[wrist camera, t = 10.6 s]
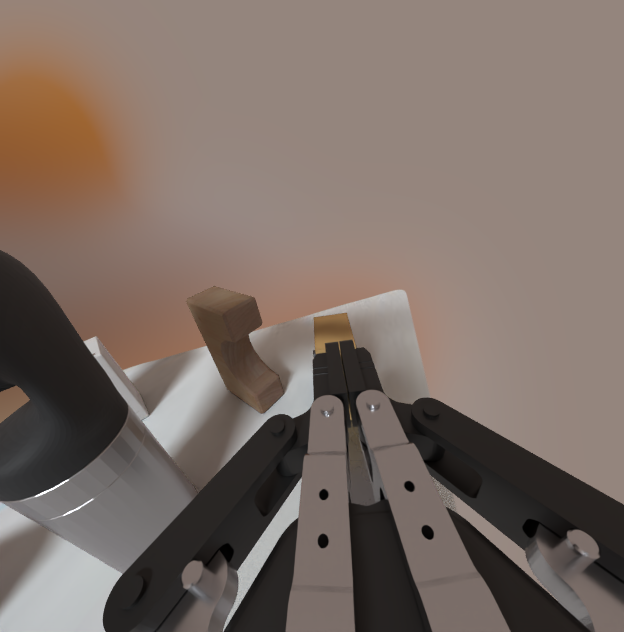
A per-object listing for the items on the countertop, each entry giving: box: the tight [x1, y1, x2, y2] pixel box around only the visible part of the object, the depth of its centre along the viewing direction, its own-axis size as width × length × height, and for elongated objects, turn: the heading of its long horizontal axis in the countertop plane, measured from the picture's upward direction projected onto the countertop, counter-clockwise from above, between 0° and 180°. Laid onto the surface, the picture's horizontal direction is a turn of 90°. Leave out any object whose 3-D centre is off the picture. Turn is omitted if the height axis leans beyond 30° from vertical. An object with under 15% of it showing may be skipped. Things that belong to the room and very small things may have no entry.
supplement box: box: [84, 337, 149, 420], centre depth 42 cm, size 9×9×15 cm
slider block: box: [314, 313, 356, 420], centre depth 37 cm, size 8×5×14 cm, turn 1°
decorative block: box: [186, 286, 284, 414], centre depth 41 cm, size 11×6×20 cm, turn 50°
